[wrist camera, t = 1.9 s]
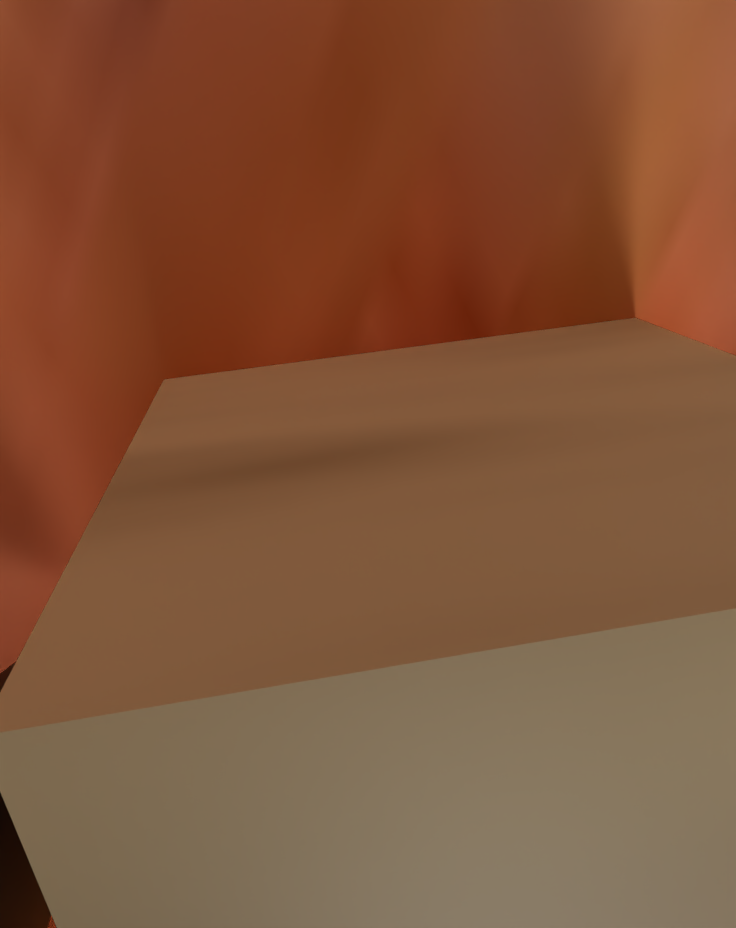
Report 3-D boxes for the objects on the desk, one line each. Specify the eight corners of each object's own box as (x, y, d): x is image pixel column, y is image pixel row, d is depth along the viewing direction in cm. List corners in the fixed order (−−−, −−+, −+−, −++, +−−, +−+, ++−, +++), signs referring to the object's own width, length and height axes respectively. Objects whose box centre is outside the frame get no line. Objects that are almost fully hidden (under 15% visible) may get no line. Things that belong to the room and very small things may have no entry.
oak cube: (615, 683, 11) (939, 1156, 6) (246, 748, 11) (224, 1330, 5) (631, 316, 9) (1196, 530, 4) (164, 377, 9) (-24, 736, 3)
